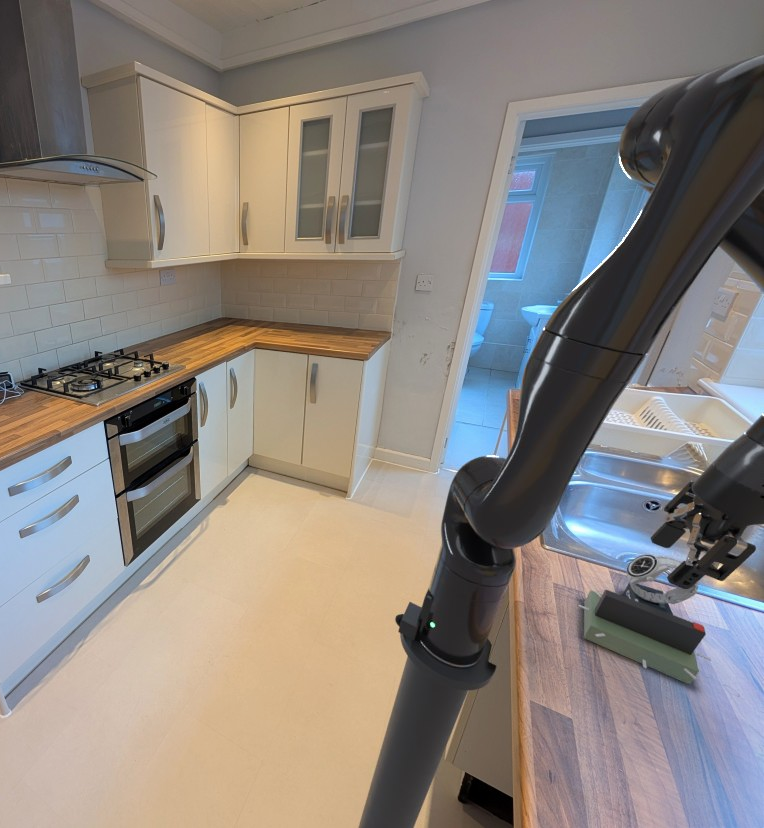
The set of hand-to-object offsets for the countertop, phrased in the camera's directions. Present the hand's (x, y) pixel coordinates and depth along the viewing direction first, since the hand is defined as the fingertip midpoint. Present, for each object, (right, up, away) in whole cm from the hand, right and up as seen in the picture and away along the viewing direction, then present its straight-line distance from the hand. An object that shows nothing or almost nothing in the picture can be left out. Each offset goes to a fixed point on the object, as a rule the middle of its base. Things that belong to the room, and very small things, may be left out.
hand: (666, 563), depth 60 cm
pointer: (+2, -12, +5) cm, 14 cm away
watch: (+9, -13, +12) cm, 20 cm away
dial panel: (+2, -15, +7) cm, 17 cm away
